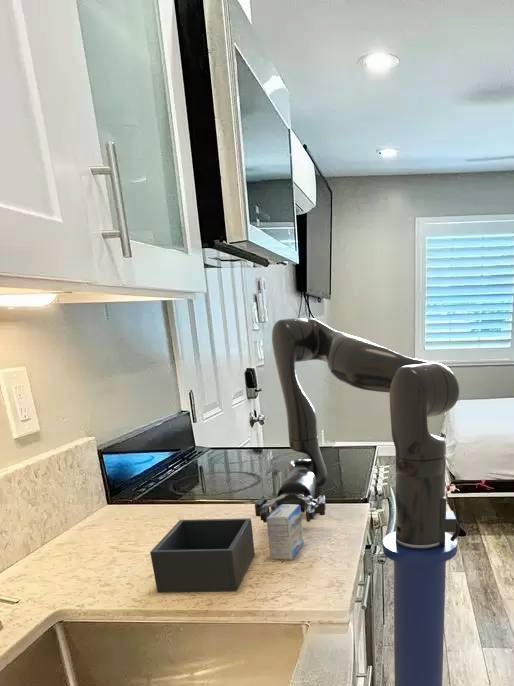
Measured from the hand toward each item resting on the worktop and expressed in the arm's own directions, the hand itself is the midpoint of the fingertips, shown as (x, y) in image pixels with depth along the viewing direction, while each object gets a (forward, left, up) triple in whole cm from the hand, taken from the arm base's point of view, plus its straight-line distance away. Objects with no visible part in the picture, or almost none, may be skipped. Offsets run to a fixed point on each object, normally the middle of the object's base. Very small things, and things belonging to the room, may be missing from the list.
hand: (286, 517), depth 111 cm
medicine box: (0, +2, -7) cm, 7 cm away
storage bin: (+13, +11, -7) cm, 18 cm away
